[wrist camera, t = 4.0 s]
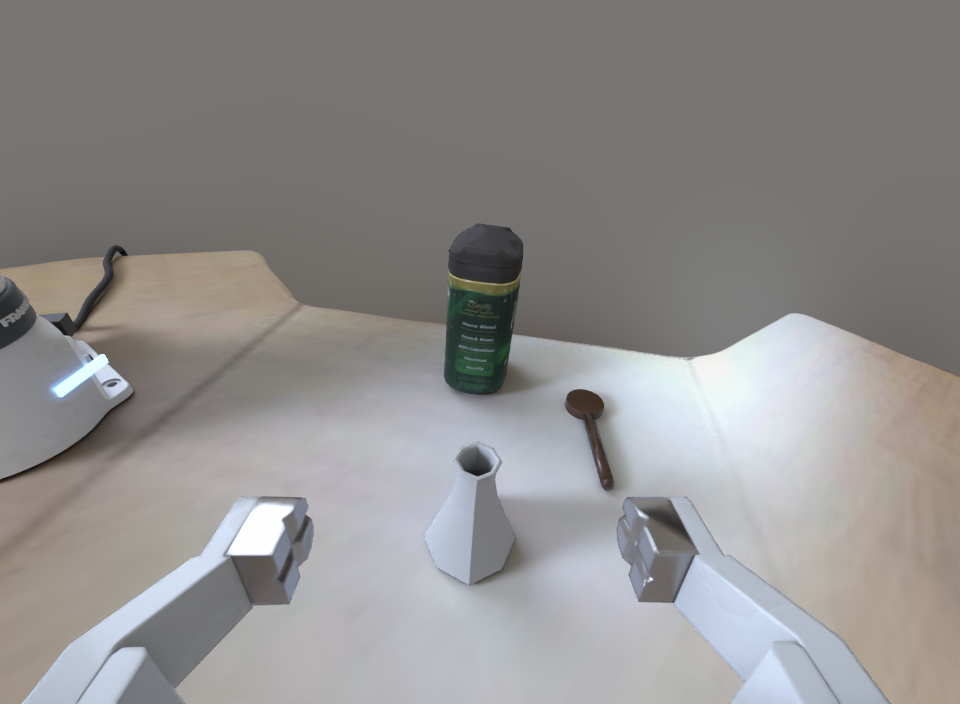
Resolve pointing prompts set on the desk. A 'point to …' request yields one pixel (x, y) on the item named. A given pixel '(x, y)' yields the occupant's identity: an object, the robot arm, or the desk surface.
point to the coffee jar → (481, 307)
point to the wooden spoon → (591, 428)
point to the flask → (471, 519)
